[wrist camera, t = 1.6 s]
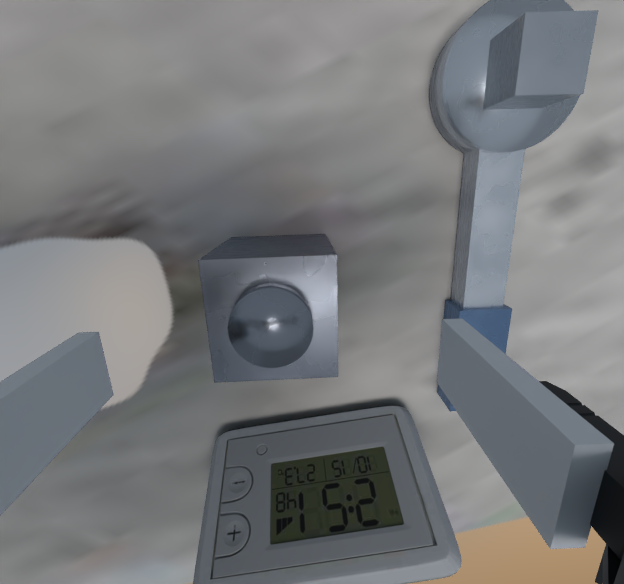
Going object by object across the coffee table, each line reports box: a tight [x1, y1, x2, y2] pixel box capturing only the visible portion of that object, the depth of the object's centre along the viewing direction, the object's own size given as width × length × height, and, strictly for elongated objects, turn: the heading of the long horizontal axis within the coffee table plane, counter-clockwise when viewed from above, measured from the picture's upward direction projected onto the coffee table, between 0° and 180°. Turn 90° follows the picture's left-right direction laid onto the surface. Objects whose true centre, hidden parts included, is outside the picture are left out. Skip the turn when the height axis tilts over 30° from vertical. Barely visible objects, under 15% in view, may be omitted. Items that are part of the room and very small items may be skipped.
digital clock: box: [193, 406, 461, 584], centre depth 24 cm, size 16×9×11 cm, turn 87°
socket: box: [198, 234, 338, 382], centre depth 20 cm, size 6×6×9 cm
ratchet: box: [429, 0, 598, 411], centre depth 21 cm, size 8×26×6 cm, turn 2°
